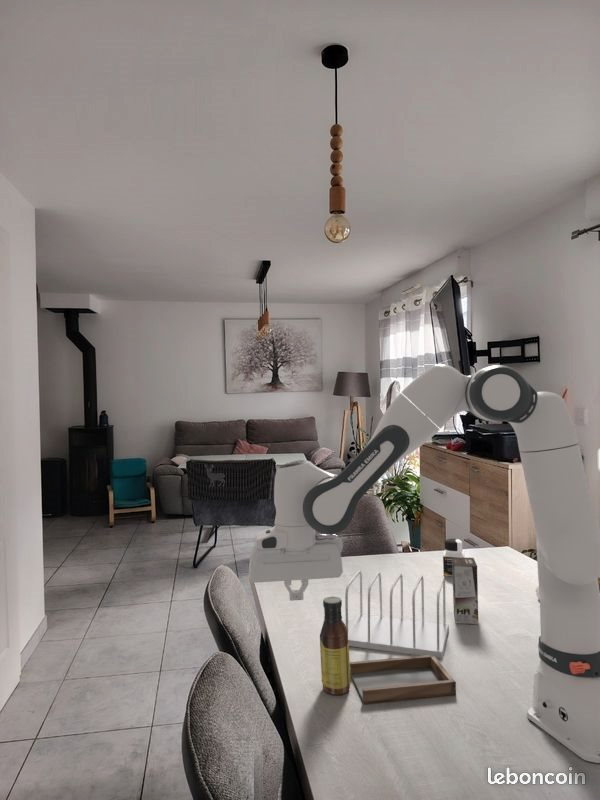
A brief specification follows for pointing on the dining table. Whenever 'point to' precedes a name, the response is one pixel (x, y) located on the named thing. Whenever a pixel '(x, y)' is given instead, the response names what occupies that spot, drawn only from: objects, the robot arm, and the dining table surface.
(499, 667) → the dining table surface
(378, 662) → the wooden tray
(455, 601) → the coffee box
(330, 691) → the sauce bottle
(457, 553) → the white plastic bottle
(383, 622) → the file sorter
